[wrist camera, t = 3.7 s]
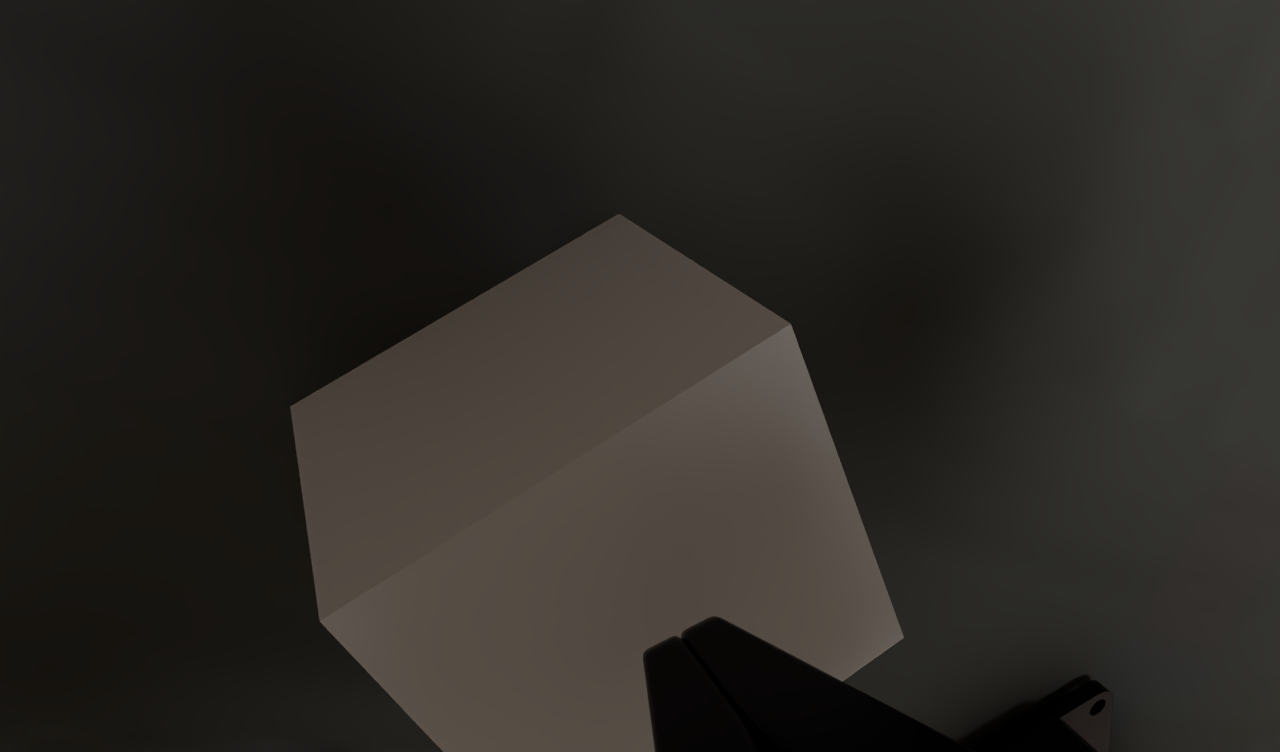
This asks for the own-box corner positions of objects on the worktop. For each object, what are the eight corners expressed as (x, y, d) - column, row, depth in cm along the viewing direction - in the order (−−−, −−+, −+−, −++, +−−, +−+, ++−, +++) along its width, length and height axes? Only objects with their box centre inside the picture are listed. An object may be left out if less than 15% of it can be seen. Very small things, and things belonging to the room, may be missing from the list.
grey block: (731, 466, 15) (903, 637, 11) (475, 634, 14) (564, 880, 10) (616, 211, 12) (790, 323, 8) (289, 403, 11) (320, 621, 8)
